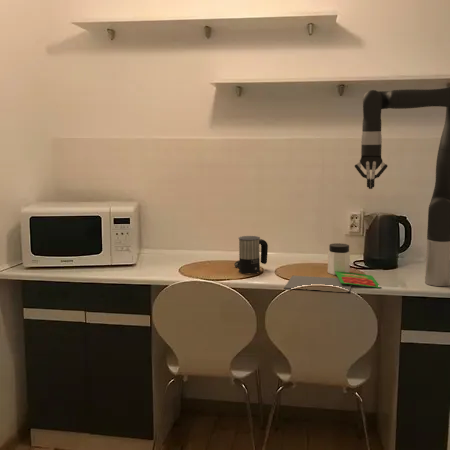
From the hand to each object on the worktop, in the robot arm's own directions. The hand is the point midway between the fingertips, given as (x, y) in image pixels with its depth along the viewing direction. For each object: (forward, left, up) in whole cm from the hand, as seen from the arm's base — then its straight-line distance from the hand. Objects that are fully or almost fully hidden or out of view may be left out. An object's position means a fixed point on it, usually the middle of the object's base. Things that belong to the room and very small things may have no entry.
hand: (370, 188), depth 227 cm
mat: (+18, +12, -36) cm, 42 cm away
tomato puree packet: (+2, +13, -36) cm, 38 cm away
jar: (+12, -9, -37) cm, 40 cm away
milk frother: (+51, -6, -37) cm, 63 cm away
